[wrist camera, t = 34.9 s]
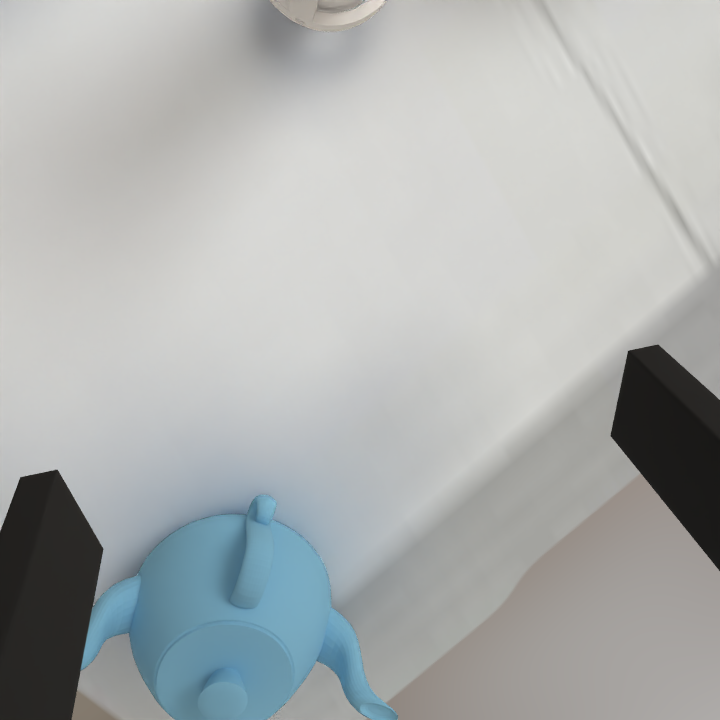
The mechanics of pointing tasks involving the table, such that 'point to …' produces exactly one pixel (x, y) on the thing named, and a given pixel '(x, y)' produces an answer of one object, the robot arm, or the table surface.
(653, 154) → the table surface
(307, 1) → the white cylindrical mechanical housing
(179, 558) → the teapot
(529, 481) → the table surface
